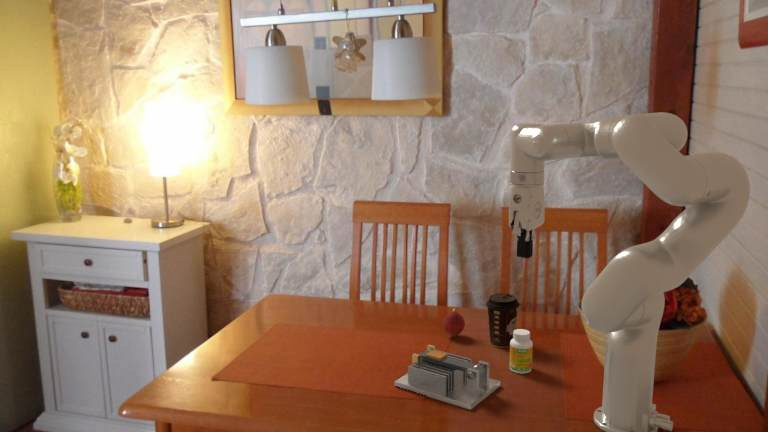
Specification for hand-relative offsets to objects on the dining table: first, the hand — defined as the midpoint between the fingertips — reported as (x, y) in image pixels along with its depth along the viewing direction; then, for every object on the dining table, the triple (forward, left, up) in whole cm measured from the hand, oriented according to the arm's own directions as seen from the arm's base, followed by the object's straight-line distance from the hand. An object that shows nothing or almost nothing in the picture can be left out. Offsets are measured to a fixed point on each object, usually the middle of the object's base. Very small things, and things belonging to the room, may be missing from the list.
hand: (524, 256), depth 160 cm
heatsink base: (+11, +16, -29) cm, 35 cm away
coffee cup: (+12, -14, -29) cm, 35 cm away
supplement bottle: (+1, -2, -29) cm, 29 cm away
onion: (+25, -11, -29) cm, 40 cm away
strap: (+10, +16, -24) cm, 31 cm away
